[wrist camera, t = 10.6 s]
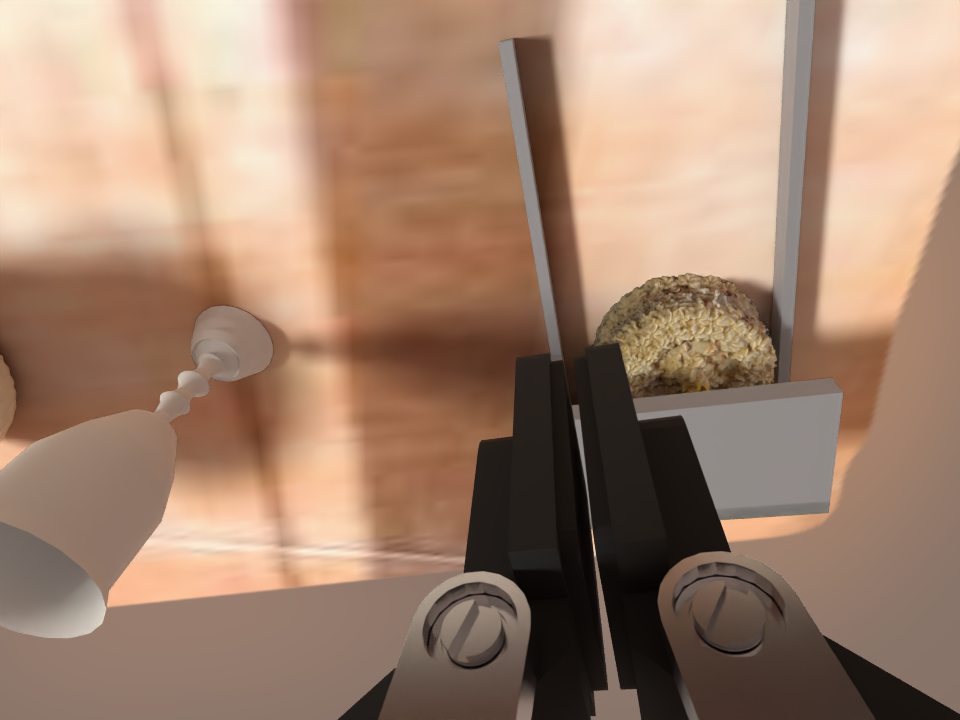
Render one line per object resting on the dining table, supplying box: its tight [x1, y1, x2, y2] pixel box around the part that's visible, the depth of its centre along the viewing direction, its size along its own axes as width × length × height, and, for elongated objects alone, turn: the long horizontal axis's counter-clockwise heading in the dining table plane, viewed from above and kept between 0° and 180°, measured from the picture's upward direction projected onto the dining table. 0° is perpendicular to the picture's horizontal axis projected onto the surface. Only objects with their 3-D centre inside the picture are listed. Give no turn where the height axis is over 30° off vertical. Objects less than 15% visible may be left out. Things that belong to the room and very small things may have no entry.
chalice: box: [0, 305, 273, 638], centre depth 29 cm, size 7×7×18 cm
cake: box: [593, 273, 777, 399], centre depth 32 cm, size 10×10×5 cm
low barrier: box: [499, 0, 843, 529], centre depth 28 cm, size 23×13×8 cm, turn 12°
